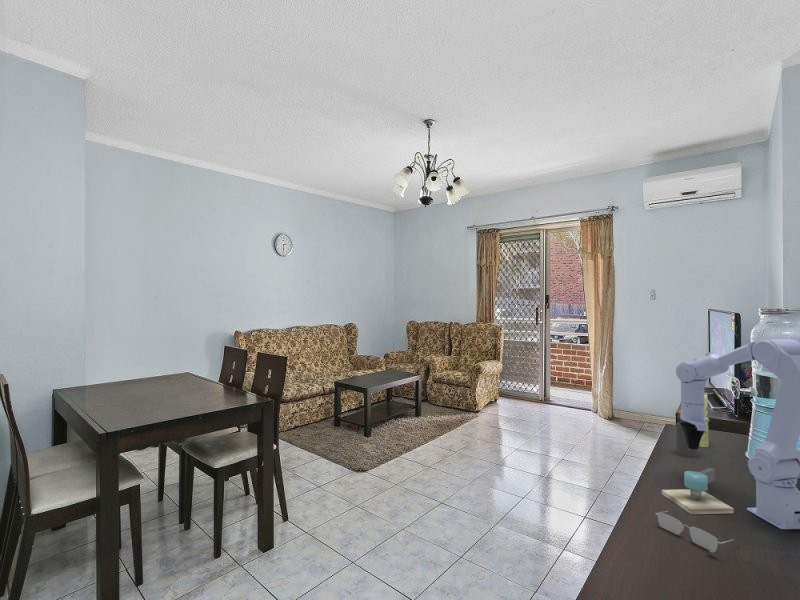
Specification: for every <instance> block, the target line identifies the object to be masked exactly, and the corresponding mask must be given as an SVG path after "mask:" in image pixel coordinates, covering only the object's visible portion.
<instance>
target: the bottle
mask: <svg viewBox="0 0 800 600" xmlns="http://www.w3.org/2000/svg"><path fill="white" fill-rule="evenodd" d="M677 412H678V415H677V419H678V420H679V421H678V422H676V424H675V425H676V426H675V427H676V428H675V429H676V430H675V431H676V454H678V456H682V457H686V458H696V457H697V456H698V449H690V448H688V445H687V441H686V437H685V433H684V431H683V429H682V427H681V425H680V423H681V422H682V423H686V421H684V420H681V418H680V416H681V409H679V410H677Z"/></svg>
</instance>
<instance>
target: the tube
mask: <svg viewBox="0 0 800 600" xmlns="http://www.w3.org/2000/svg"><path fill="white" fill-rule="evenodd" d="M708 404H709V403H708V392H704V412H705V418H708V419H709V410H708V407H709V405H708ZM705 424H706V431H705V432H704V434H703V435H702V437H701V440H700V444H699V447H700V448H708V447H709V446H710V445H709V422H705ZM699 447H698V448H699Z"/></svg>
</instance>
